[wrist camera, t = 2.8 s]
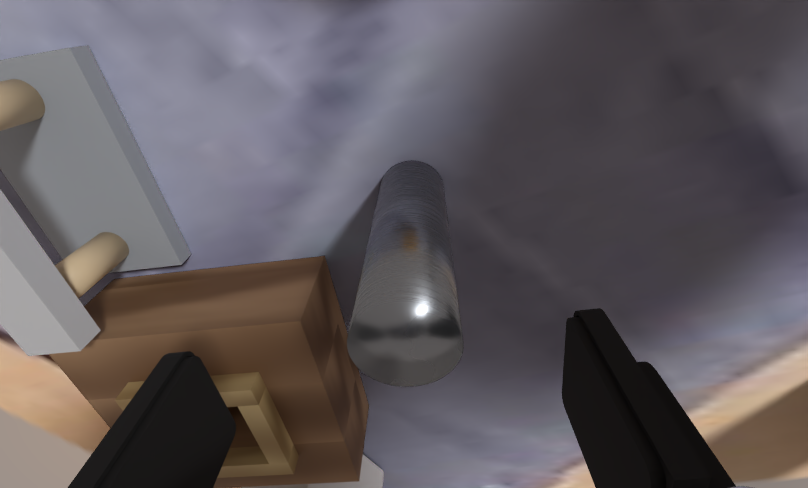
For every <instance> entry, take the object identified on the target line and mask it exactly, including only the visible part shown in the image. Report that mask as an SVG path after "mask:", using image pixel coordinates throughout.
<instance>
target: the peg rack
mask: <svg viewBox="0 0 808 488" xmlns="http://www.w3.org/2000/svg"><path fill="white" fill-rule="evenodd" d="M0 170H1V171H2V173H3V174H4V175H5V177H6V178H7V180H8V181H9V183H10V184H11V186H12V187H13V188H14V190H15V191H16V193H17V194H18V196H19V197H20V199H21V200H22V201H23V203H24V204H25V206H26V207H27V209H28V210H29V212H30V213H31V214H32V216H33V217H34V219H35V220H36V222H37V223H38V225H39V226H40V227H41V229H42V230H43V232H44V233H45V235H46V236H47V238H48V239H49V240H50V242H51V243H52V245H53V246H54V248H55V249H56V251H57V252H58V253H59V255H60V256H61V258H62V259H63V260H62V261H60V262H59V263H58V264H56V265H54V264H53V263H52V261H51V260H50V258H49V257H48V256H47V254H46V253H45V251H44V250H43V248H42V247H41V246H40V244H39V243H38V241H37V240H36V239H35V237H34V236H33V234H32V233H31V232H30V230H29V229H28V227H27V226H26V225H25V223H24V222H23V220H22V219H21V218H20V216H19V215H18V213H17V212H16V210H15V209H14V208H13V206H12V205H11V203H10V202H9V201H8V199H7V198H6V196H5V195H4V194H3V192H2V191H1V189H0V324H1V325H2V327H3V328H4V329H5V330H6V331H7V332H8V333H9V335H10V336H11V337H12V338H13V339H14V340H15V341H16V343H17V344H18V345H19V346H20V347H21V348H22V350H23V351H24V352H25V353H26V354H27V355H28V356H32V355H43V354H55V353H66V352H77V351H81V350H82V349H83V348H84V347H85V346H86V345H87V344H88V343H89V342H90V341H91V340H92V339H93V338H94V337H95V336H96V335H97V334H98V333H99V332H100V331H101V330H100V329H99V327H98V326H97V325H96V323H95V322H94V320H93V319H92V317H91V316H90V315H89V313H88V312H87V310H86V309H85V308H84V306H83V305H82V303H81V302H80V301H79V298H80V297H81V296H82V295H83V294H85V293H86V292H87V291H88V290H89V289H90V288H91V287H93V286H94V285H95V284H96V283H97V282H98V281H99V280H101V279H102V278H103V277H104V276H105V275H106V274H108V273H113V272H121V271H130V270H139V269H148V268H157V267H166V266H175V265H182V264H183V263H184V262H185V261H186V260H187V258H188V257H189V256H190V255H191V252H190V250H189V248H188V246H187V244H186V242H185V240H184V238H183V236H182V234H181V232H180V230H179V228H178V226H177V224H176V222H175V220H174V218H173V216H172V214H171V212H170V210H169V208H168V206H167V204H166V202H165V200H164V198H163V196H162V194H161V192H160V190H159V188H158V186H157V184H156V182H155V180H154V178H153V176H152V174H151V172H150V169H149V167H148V165H147V163H146V161H145V159H144V157H143V155H142V153H141V151H140V149H139V147H138V145H137V143H136V141H135V139H134V137H133V135H132V133H131V131H130V129H129V127H128V125H127V123H126V121H125V119H124V117H123V115H122V113H121V111H120V109H119V107H118V105H117V103H116V101H115V99H114V97H113V95H112V93H111V91H110V89H109V87H108V84H107V82H106V80H105V78H104V76H103V74H102V72H101V70H100V68H99V66H98V64H97V62H96V60H95V58H94V56H93V54H92V52H91V50H90V48H89V46H88V45H87V46H80V47H72V48H66V49H60V50H55V51H49V52H43V53H38V54H32V55H26V56H21V57H15V58H10V59H4V60H0Z"/></svg>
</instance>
